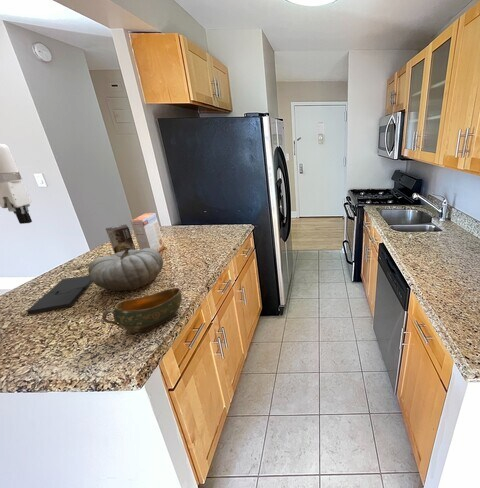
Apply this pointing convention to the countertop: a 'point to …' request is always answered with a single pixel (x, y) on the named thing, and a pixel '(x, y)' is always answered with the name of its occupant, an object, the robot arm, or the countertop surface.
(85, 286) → the pad
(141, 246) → the cracker box
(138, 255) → the gourd
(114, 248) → the coffee box
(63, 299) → the base pad
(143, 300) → the green gravy boat
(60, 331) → the countertop surface
